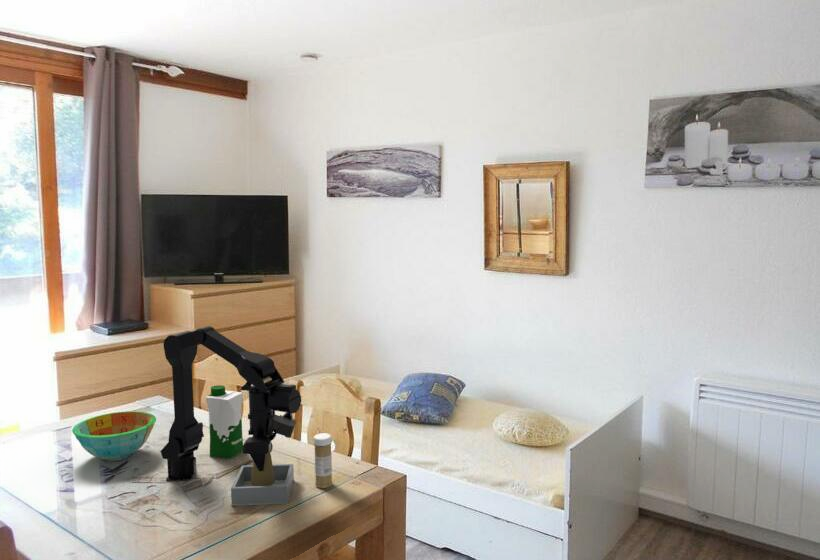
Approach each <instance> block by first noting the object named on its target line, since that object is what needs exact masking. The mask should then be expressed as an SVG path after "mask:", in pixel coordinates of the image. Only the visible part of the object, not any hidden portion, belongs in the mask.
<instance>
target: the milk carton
mask: <svg viewBox="0 0 820 560" xmlns="http://www.w3.org/2000/svg"><path fill="white" fill-rule="evenodd" d="M205 403H206V405H207V406H206V407H207V410H208V423H209V424H208V425H209V426H208V427H209V457H212V458H213V457H215V458H219V457H220V458H221V459H226V460H231V459H232V458H234V457H235V456H237V455H238V454H240V453H241V452H242V453H243V445H244V439H243V422H242V421H243V417H242V404H243V392H240V391H236V390H226V387H225V385H222V384H221V385H219V384H218V385H213V386H211V387H210V394H209V395H207V396H205Z"/></svg>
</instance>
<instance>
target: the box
mask: <svg viewBox="0 0 820 560" xmlns="http://www.w3.org/2000/svg"><path fill="white" fill-rule="evenodd" d="M272 465H273V471H274V477H275V483H274V484H272V485H270V486H252V485H251V479H252V470H253V464H250V465H249V464H248V465H241V467H239V469H238V473H237V475H236V477H235V479H234V481H233V483H232V485H231V488H230V498H231V499H230V500H231V501H230V502H231V507H240V506H241V507H242V506H265V505H287V504H289V500H290V496H291V493H292V489H293V484H294V481H295V476H294V474H295V473H294V463H288V464H287V463H283V464H282V463H279V464H278V463H277V464H272Z"/></svg>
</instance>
